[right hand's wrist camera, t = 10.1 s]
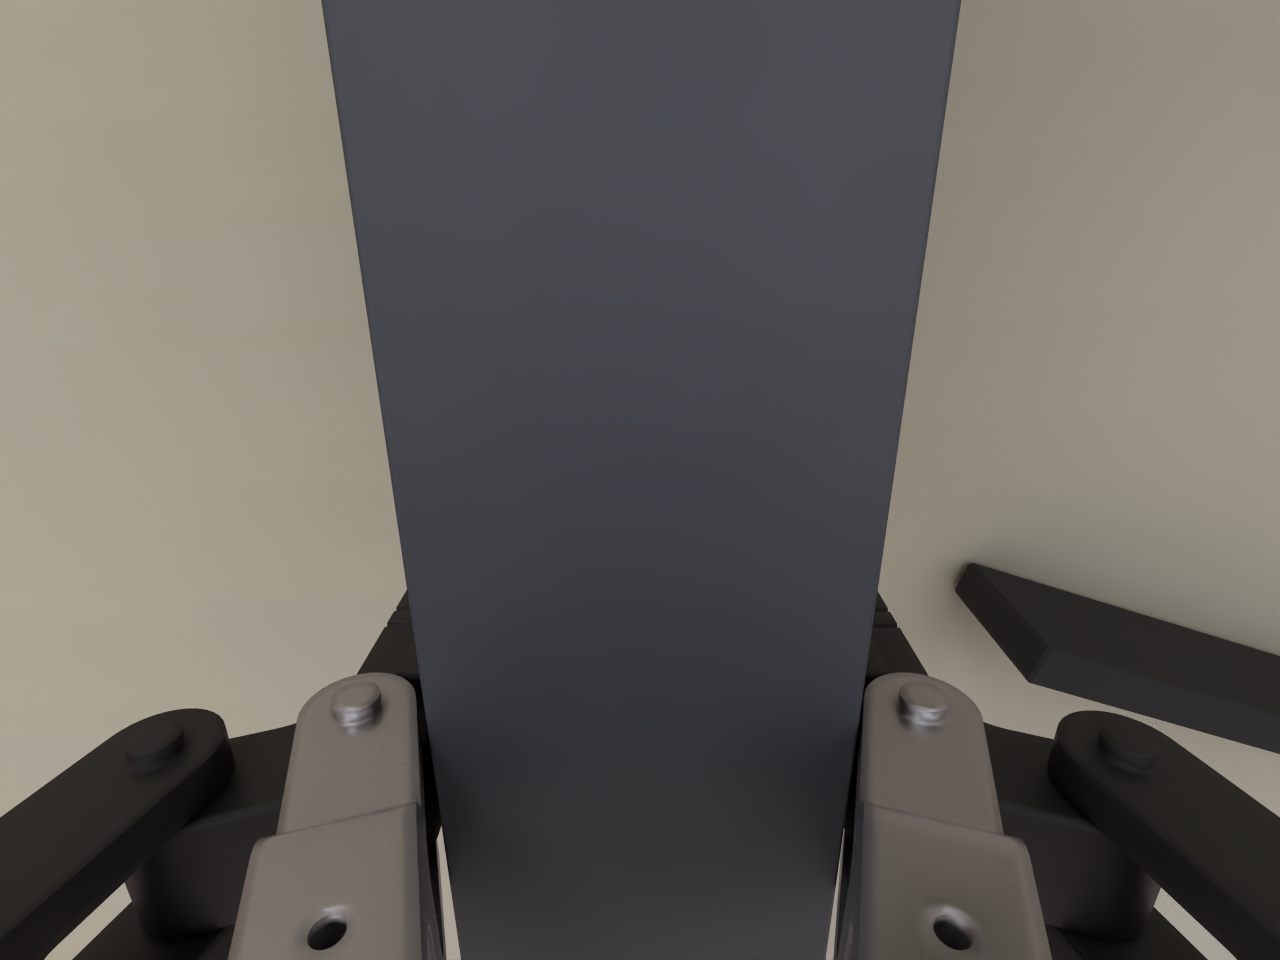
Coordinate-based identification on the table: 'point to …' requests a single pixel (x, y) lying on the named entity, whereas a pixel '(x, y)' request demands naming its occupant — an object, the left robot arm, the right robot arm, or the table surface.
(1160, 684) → the midi keyboard
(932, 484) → the table surface
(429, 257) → the post
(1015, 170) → the table surface
